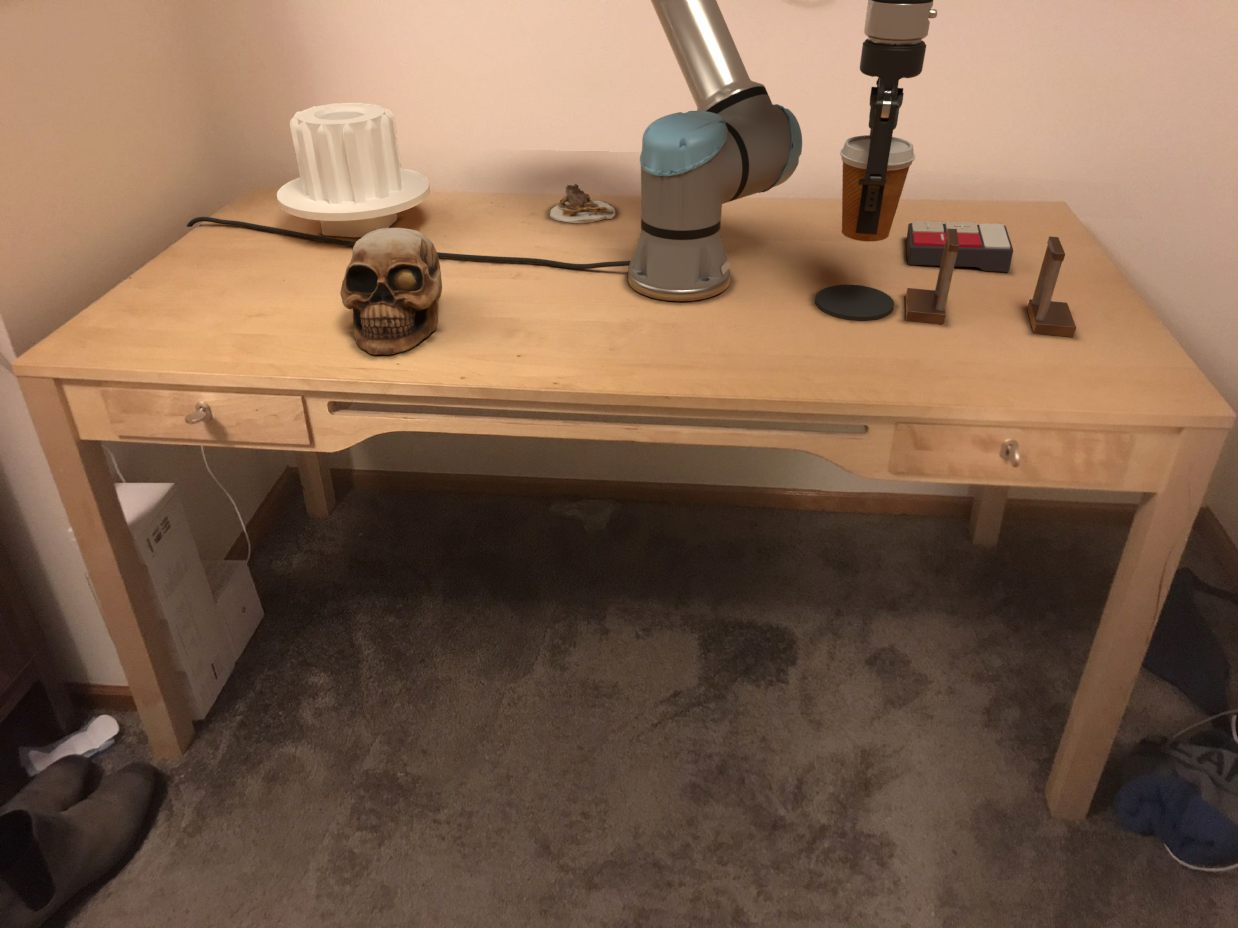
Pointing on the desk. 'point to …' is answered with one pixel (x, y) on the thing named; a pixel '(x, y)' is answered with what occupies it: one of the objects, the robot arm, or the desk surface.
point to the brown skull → (392, 290)
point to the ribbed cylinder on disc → (349, 170)
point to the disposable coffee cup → (855, 169)
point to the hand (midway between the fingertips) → (867, 221)
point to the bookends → (1040, 309)
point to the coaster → (854, 302)
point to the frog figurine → (581, 208)
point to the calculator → (960, 244)
